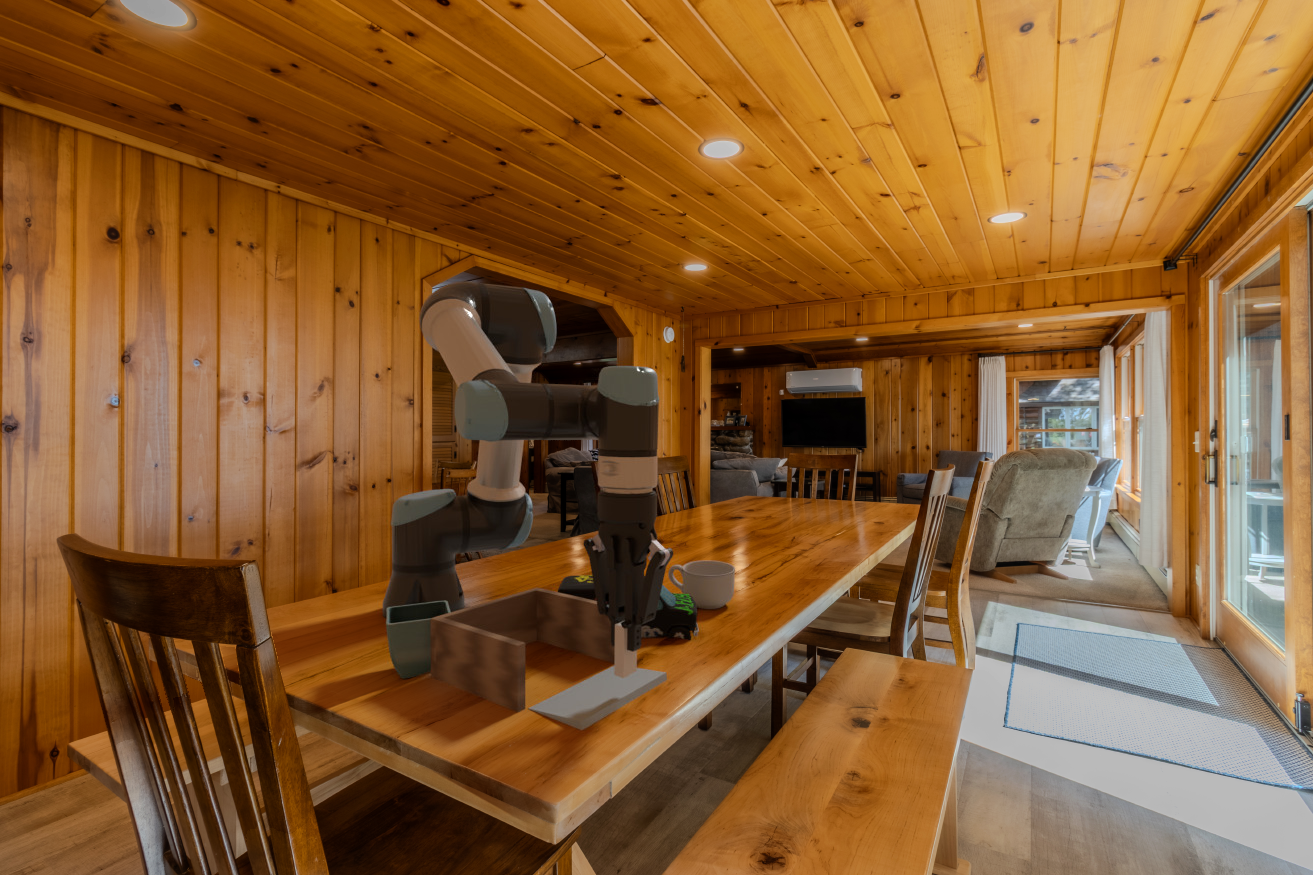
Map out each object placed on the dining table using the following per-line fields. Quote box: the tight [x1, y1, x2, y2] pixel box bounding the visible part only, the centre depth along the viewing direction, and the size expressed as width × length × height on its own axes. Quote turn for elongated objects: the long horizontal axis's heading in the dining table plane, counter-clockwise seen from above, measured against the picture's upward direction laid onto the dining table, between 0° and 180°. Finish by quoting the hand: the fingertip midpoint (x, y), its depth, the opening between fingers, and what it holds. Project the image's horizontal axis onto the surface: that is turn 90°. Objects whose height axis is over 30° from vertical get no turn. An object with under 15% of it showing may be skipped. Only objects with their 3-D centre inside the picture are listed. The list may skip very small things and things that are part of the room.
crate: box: [430, 587, 615, 713], centre depth 88 cm, size 18×20×10 cm
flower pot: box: [385, 601, 451, 679], centre depth 90 cm, size 9×9×9 cm
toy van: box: [557, 574, 700, 641], centre depth 106 cm, size 11×25×10 cm, turn 92°
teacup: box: [667, 559, 736, 610], centre depth 125 cm, size 14×11×8 cm
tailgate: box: [527, 664, 668, 731], centre depth 80 cm, size 1×17×9 cm
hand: (625, 672), depth 78 cm, fingers closed
